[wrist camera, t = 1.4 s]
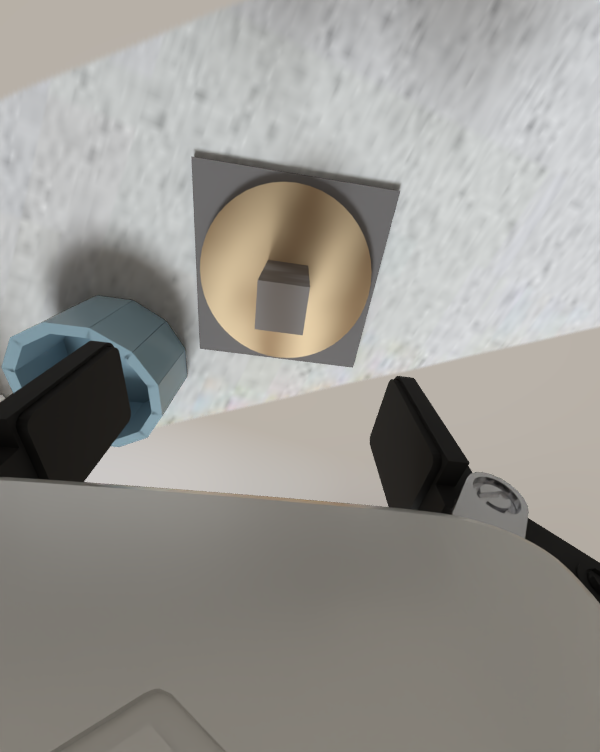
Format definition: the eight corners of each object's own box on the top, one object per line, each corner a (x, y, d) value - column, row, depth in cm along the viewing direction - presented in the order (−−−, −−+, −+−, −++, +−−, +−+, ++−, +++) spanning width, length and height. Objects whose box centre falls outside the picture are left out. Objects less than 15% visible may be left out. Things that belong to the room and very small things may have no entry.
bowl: (182, 306, 25) (151, 335, 20) (189, 409, 31) (167, 451, 26) (45, 288, 24) (-23, 313, 19) (79, 396, 30) (33, 438, 25)
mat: (397, 191, 21) (400, 191, 20) (352, 364, 28) (352, 367, 27) (193, 157, 20) (191, 156, 19) (201, 346, 27) (199, 348, 27)
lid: (390, 198, 20) (425, 200, 15) (348, 361, 27) (361, 407, 21) (199, 167, 20) (156, 155, 14) (205, 344, 26) (178, 386, 21)
